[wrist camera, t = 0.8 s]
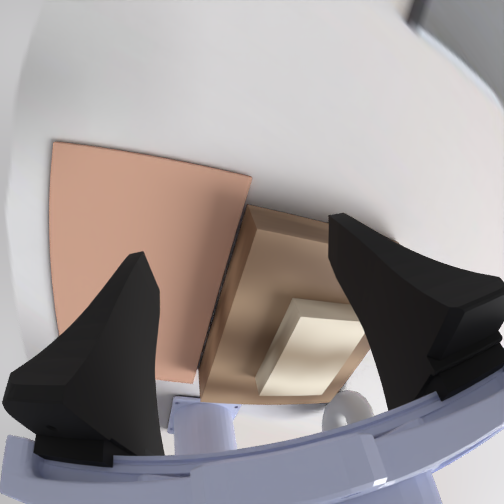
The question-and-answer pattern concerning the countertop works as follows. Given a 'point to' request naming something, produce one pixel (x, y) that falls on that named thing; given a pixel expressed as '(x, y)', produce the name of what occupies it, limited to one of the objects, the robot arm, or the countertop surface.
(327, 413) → the donut
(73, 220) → the mat
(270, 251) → the block
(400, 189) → the countertop surface
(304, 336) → the cream rectangular block
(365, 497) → the robot arm
